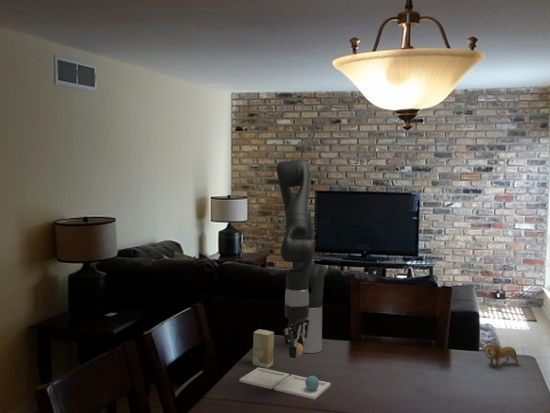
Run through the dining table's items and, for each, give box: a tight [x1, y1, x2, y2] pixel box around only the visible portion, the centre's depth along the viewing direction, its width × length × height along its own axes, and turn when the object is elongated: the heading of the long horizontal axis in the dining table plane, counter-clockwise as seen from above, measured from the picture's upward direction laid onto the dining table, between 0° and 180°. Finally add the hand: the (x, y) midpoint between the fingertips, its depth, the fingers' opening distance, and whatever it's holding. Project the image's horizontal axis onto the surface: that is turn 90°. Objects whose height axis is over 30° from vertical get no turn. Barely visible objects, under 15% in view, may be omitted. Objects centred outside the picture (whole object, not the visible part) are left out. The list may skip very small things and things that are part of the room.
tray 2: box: [273, 374, 332, 400], centre depth 178 cm, size 12×14×1 cm
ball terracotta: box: [296, 342, 304, 358], centre depth 178 cm, size 4×4×4 cm
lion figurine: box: [484, 342, 519, 369], centre depth 199 cm, size 15×5×9 cm, turn 114°
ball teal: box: [305, 375, 320, 390], centre depth 177 cm, size 4×4×4 cm
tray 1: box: [238, 366, 290, 390], centre depth 185 cm, size 12×12×1 cm
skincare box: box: [252, 328, 275, 369], centre depth 198 cm, size 6×4×12 cm
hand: (296, 354), depth 179 cm, fingers closed on ball terracotta, 4 cm apart
